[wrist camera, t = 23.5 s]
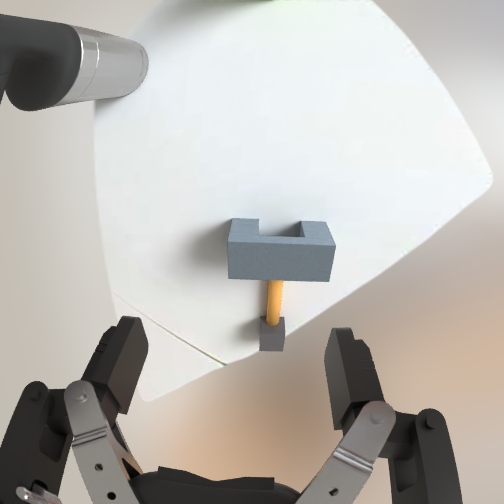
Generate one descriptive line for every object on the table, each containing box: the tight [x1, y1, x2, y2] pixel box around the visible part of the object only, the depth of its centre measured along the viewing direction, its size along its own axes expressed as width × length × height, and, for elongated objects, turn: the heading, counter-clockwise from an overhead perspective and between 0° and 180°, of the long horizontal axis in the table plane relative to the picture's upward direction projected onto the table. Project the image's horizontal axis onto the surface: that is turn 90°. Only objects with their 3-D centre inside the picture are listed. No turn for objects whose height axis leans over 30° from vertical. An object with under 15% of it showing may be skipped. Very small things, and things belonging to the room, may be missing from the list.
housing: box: [227, 218, 336, 282], centre depth 43 cm, size 14×6×8 cm, turn 89°
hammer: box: [259, 280, 285, 351], centre depth 51 cm, size 4×17×4 cm, turn 179°
